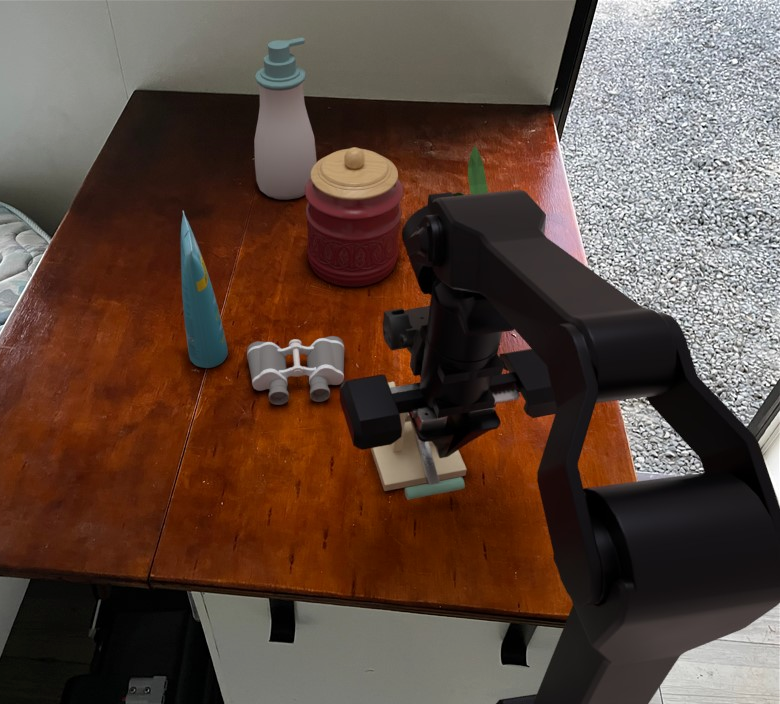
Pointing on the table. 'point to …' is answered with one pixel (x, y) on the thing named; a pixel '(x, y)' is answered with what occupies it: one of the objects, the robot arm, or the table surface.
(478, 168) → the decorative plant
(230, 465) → the table surface
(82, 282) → the table surface
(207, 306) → the tube
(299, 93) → the soap bottle
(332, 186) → the kitchen canister
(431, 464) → the lever
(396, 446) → the toaster bracket
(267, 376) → the binoculars
